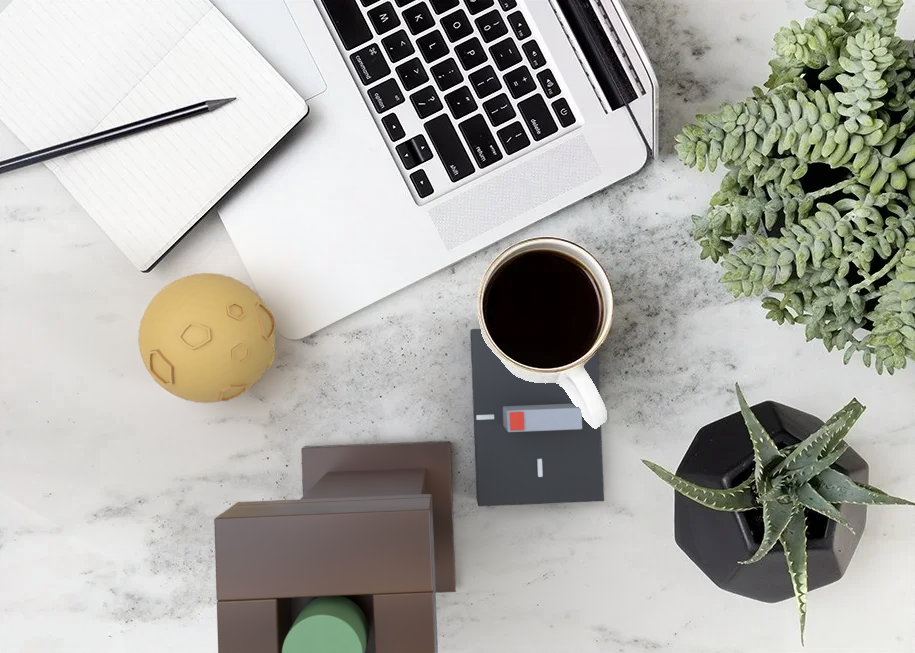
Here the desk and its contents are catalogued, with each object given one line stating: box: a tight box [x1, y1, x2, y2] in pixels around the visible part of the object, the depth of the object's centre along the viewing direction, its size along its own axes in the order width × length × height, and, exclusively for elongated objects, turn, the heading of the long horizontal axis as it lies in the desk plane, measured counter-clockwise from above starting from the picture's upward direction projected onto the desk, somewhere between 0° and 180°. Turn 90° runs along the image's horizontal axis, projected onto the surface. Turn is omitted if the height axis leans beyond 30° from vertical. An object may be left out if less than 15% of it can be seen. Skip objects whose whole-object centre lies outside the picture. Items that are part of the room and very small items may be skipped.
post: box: [300, 440, 457, 594], centre depth 52 cm, size 12×12×24 cm
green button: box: [282, 596, 369, 653], centre depth 36 cm, size 4×4×3 cm
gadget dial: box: [503, 404, 582, 432], centre depth 59 cm, size 6×2×5 cm, turn 92°
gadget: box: [469, 328, 605, 507], centre depth 63 cm, size 14×10×3 cm
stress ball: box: [138, 272, 277, 404], centre depth 59 cm, size 10×10×10 cm
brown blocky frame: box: [213, 494, 439, 653], centre depth 38 cm, size 12×10×4 cm
